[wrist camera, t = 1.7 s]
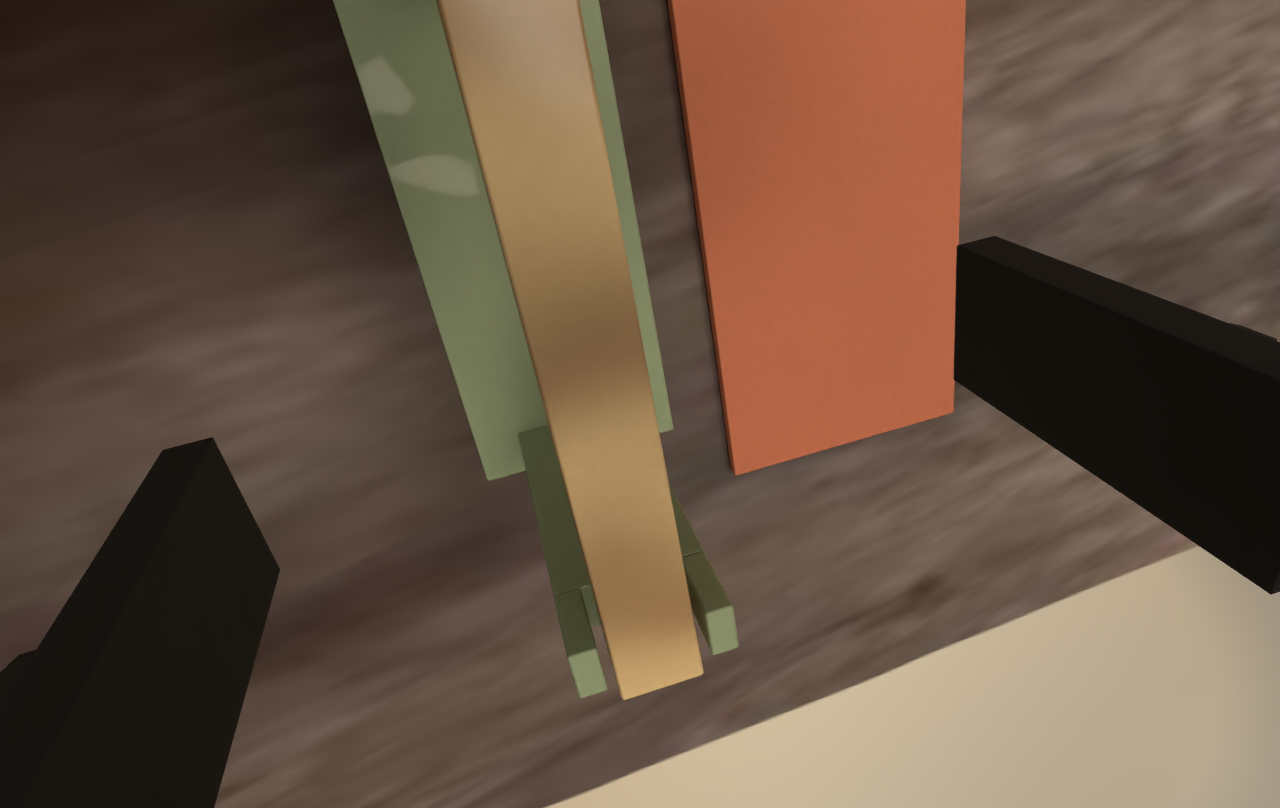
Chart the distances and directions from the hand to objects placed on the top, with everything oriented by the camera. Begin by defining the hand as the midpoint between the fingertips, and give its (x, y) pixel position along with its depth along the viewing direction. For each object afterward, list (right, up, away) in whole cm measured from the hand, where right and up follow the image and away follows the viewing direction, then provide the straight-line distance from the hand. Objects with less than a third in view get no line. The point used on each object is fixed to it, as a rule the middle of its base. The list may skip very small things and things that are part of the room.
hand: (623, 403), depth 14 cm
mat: (+8, +9, +17) cm, 21 cm away
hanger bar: (-1, +3, +5) cm, 6 cm away
